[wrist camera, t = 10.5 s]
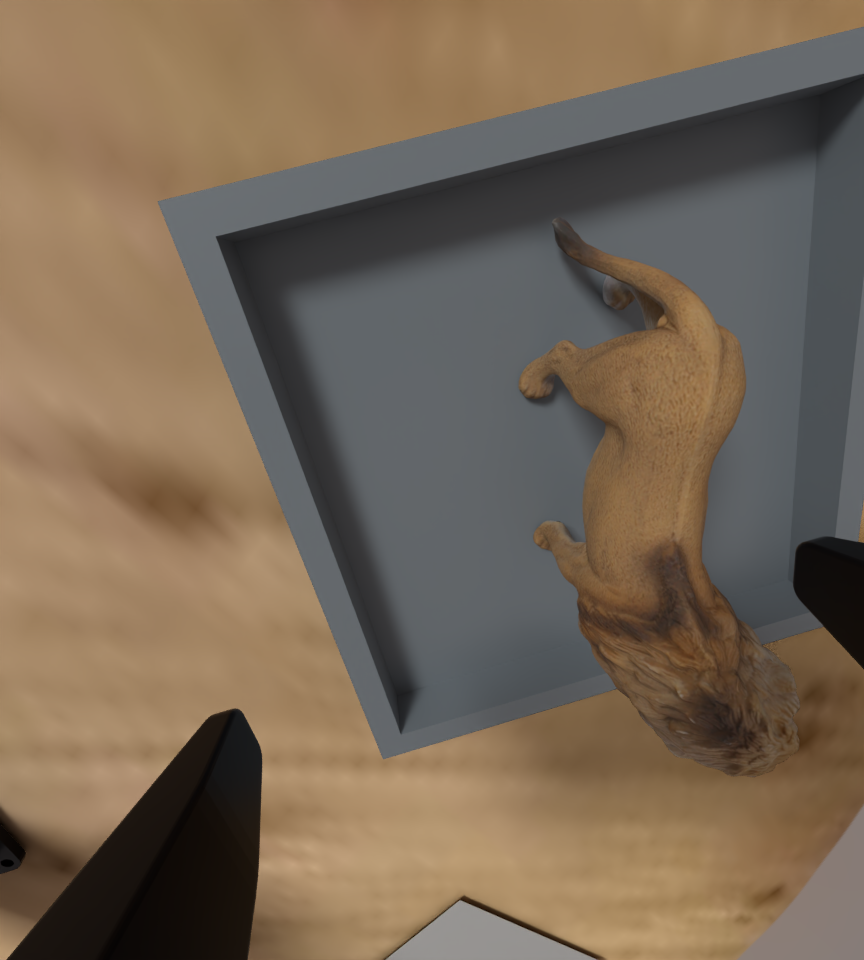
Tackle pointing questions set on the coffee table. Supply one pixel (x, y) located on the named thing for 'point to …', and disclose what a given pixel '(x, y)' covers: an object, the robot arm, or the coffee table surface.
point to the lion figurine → (663, 523)
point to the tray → (525, 337)
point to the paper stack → (481, 939)
